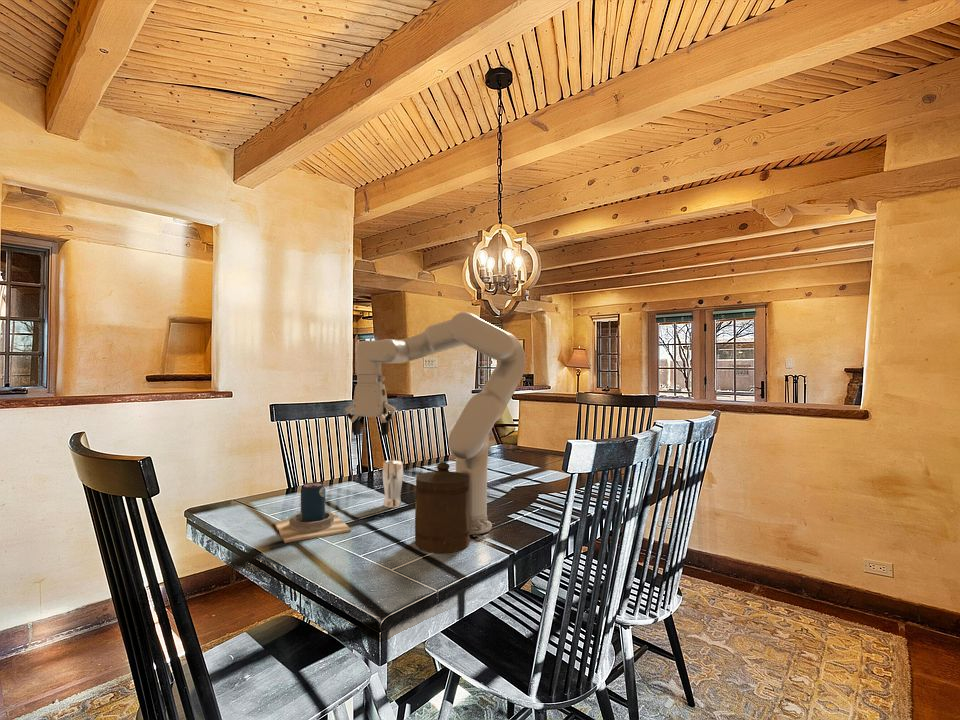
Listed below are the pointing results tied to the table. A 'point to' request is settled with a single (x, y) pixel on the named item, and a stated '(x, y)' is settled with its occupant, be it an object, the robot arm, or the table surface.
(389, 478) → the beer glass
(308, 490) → the soda can
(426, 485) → the wooden container
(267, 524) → the table surface
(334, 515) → the collar plate
